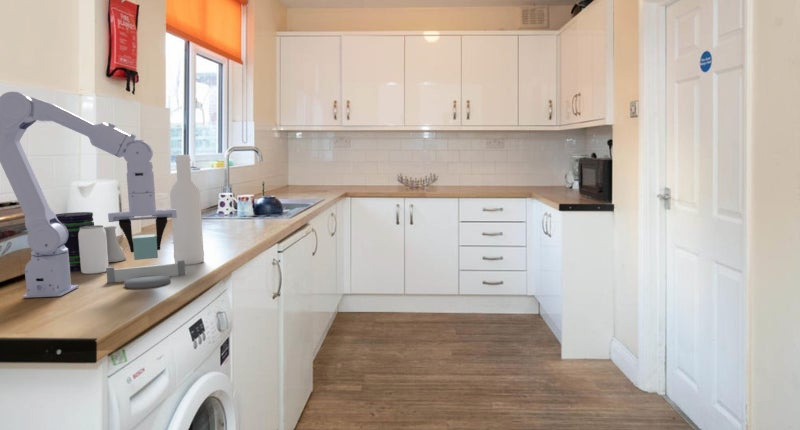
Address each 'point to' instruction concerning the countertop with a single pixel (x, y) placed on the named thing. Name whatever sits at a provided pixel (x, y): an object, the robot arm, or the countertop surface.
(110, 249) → the flask
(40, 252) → the robot arm
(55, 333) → the countertop surface
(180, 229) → the bottle
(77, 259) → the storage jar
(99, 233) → the can
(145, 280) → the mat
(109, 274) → the acrylic wall
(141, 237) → the block
